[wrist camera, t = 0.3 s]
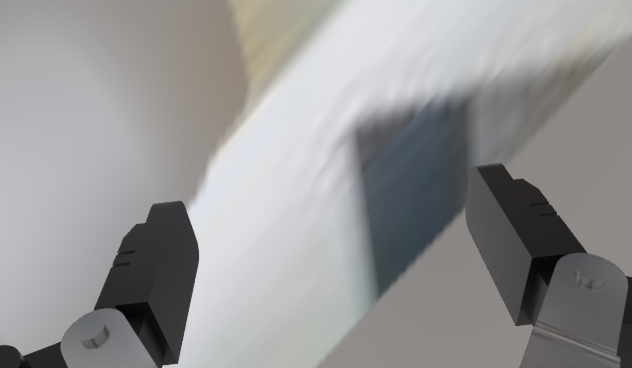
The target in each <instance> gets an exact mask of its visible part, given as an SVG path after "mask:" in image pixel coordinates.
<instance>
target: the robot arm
mask: <svg viewBox="0 0 632 368" xmlns="http://www.w3.org/2000/svg"><path fill="white" fill-rule="evenodd" d="M466 221H467V226H468V229H469V232H470V234H471V236H472V238H473V240H474V242H475V244H476V246H477V248H478V250H479V252H480V254H481V256H482V258H483V260H484V262H485V264H486V266H487V269H488V271H489V272H490V275H491V276H492V278H493V281H494V283H495V285H496V287H497V289H498V291H499V293H500V295H501V297H502V299H503V301H504V303H505V305H506V307H507V309H508V311H509V313H510V315H511V317H512V319H513V321H514V323H515V325H516V326H520V325H529V324H532V325H533V330H532V333H531V336H530V339H529V341H528V344H527V347H526V350H525V353H524V356H523V359H522V362H521V365H520V367H519V368H632V277H628V276H625V274H624V273H623V272H622V270H621V269H619V267H617V266H616V265H615V264H613V263H612V262H610V261H608V260H606V259H604V258H602V257H599V256H596V255H592V254H588V253H587V252H586V250H585V249H584V248H583V246H582V245H581V244H580V243H579V241H578V240H577V239H576V237H575V236H574V235H573V233H572V232H571V231H570V229H569V228H568V227H567V225H566V224H565V223H564V222H563V220H562V219H561V218H560V216H559V215H558V216H557V212H556V211H555V210H554V208H553V207H552V206H551V205H549V202H548V201H547V199H546V198H545V197H544V195H543V194H542V193H541V191H540V190H539V189H538V188H536V187H534V186H533V185H531V184H530V183H528V182H527V181H525V180H524V179H516V180H513V179H512V177H511V176H510V174H509V173H508V171H507V170H506V169H505V167H504V166H503V165H502V164H501V163H496V164H488V165H480V166H473V167H472V168H471V169H470V174H469V183H468V192H467V201H466ZM198 263H199V249H198V243H197V240H196V237H195V234H194V231H193V228H192V225H191V223H190V220H189V217H188V214H187V211H186V208H185V206H184V204H183V202H182V201H175V202H167V203H158V204H153V205H152V207H151V209H150V212H149V215H148V218H147V221H146V223H142V224H136V225H135V226H134V227H133V228H132V229H131V231H130V232H129V233H128V234H127V235H126V236H125V237H124V238H123V241H122V243H121V245H120V248H119V250H118V255H116V258H115V260H114V262H113V267H112V268H111V269H110V272H109V274H108V277H107V279H106V282H105V284H104V286H103V289H102V291H101V294H100V296H99V298H98V301H97V303H96V306H95V308H94V311H92V312H90V313H88V314H86V315H84V316H83V317H81V318H80V319H78V320H77V321H76V322H74V323H73V324H72V325H71V326H70V327H69V329H68V330H67V331H66V333H65V334H64V336H63V338H62V341H61V342H59V343H56V344H54V345H52V346H49V347H46V348H43V349H41V350H38V351H36V352H33V353H30V354H28V355H25V356H22V355H21V354H20V352H19V351H18V350H17V349H16V348H14V347H12V346H8V345H2V346H0V368H162V365H171V364H178V360H179V356H180V351H181V346H182V341H183V336H184V331H185V326H186V322H187V317H188V312H189V307H190V302H191V297H192V292H193V287H194V283H195V278H196V273H197V268H198Z"/></svg>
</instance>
